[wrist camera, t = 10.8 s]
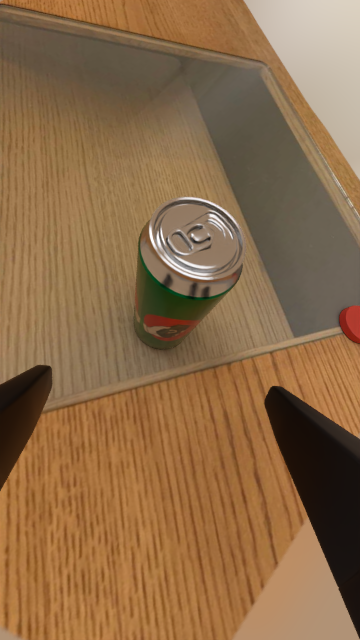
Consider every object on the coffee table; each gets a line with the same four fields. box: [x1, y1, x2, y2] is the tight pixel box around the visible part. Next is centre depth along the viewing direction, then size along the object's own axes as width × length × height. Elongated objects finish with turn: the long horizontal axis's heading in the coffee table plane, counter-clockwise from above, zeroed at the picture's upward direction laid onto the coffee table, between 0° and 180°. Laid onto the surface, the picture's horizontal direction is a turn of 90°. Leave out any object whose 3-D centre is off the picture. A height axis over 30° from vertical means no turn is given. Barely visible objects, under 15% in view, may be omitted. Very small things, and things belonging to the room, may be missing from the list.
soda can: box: [134, 196, 246, 349], centre depth 15 cm, size 5×5×12 cm
